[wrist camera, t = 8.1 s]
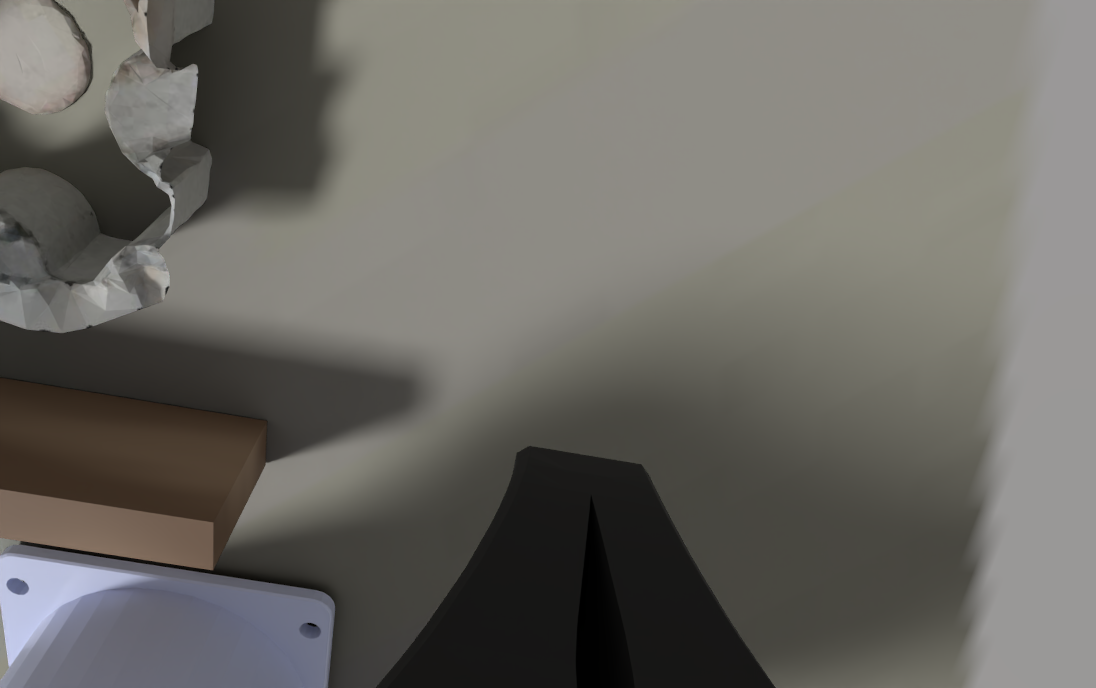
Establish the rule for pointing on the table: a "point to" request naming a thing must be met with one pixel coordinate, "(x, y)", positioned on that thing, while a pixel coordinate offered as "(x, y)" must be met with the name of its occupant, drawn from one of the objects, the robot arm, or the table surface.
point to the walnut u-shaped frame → (123, 473)
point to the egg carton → (143, 137)
